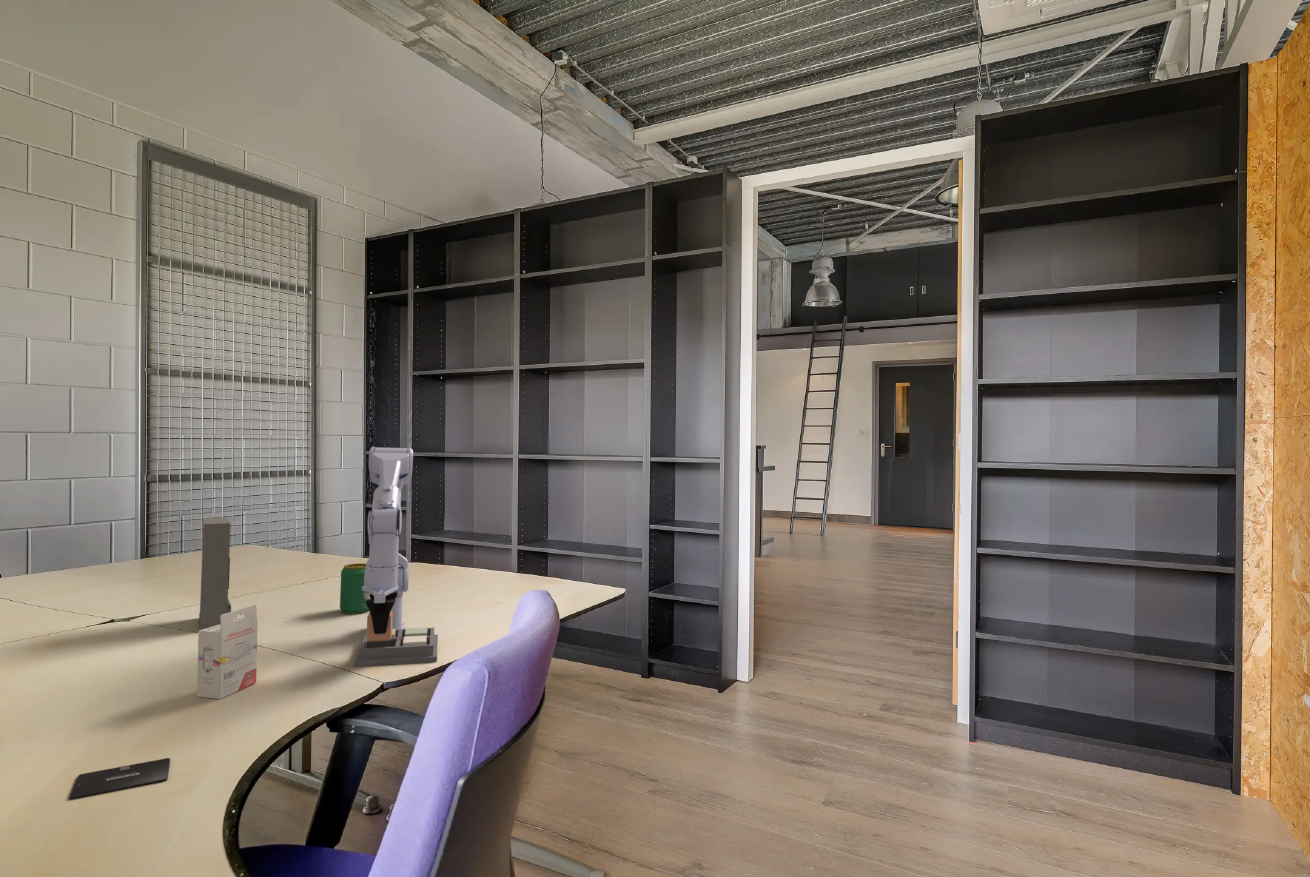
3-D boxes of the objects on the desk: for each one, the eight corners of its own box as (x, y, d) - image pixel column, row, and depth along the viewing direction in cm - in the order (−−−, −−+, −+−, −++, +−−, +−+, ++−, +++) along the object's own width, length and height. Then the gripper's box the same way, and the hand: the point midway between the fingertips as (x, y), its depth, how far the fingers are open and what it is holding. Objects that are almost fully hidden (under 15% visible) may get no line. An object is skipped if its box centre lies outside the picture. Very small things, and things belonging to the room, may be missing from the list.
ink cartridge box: (234, 680, 128) (236, 602, 128) (257, 683, 127) (259, 604, 127) (194, 697, 119) (197, 612, 119) (218, 700, 118) (221, 615, 118)
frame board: (363, 642, 154) (363, 627, 154) (437, 638, 158) (438, 623, 158) (353, 666, 137) (354, 649, 137) (436, 661, 142) (437, 644, 142)
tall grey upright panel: (230, 628, 162) (234, 523, 162) (199, 631, 158) (203, 524, 159) (228, 615, 173) (231, 517, 174) (199, 618, 170) (202, 518, 170)
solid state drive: (78, 779, 91) (78, 774, 91) (170, 762, 96) (170, 757, 96) (68, 803, 85) (68, 798, 85) (167, 783, 90) (167, 778, 90)
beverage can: (364, 615, 178) (366, 568, 178) (334, 614, 178) (335, 567, 178) (377, 607, 186) (378, 563, 186) (348, 606, 186) (349, 562, 186)
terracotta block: (368, 635, 145) (369, 611, 145) (392, 634, 146) (392, 610, 146) (366, 641, 141) (367, 617, 141) (390, 640, 142) (391, 616, 142)
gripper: (366, 560, 150) (364, 622, 149) (358, 572, 136) (356, 640, 135) (401, 559, 152) (398, 620, 151) (396, 571, 138) (394, 638, 138)
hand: (381, 630), depth 144 cm, fingers closed on terracotta block, 5 cm apart
